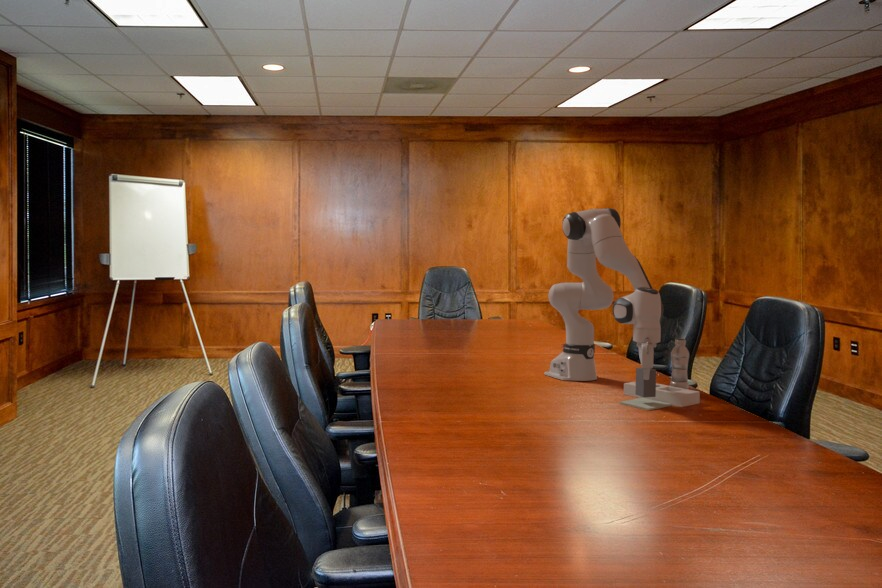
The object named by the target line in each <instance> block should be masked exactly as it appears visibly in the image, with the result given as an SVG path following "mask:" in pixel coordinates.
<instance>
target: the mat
mask: <svg viewBox="0 0 882 588" xmlns="http://www.w3.org/2000/svg"><path fill="white" fill-rule="evenodd" d="M619 405H624V406H629V407H632V408H637V409H641V410H646V411H652V410H658V409H662V408H669V407H671V406H673V405H672V404H669V403H665V402H660V401H656V400H651V399H647V398H638V397H636V398H633V399H628V400H623V401H622V400H621V401H619Z"/></svg>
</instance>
